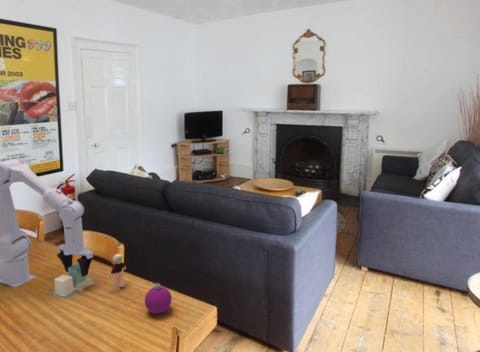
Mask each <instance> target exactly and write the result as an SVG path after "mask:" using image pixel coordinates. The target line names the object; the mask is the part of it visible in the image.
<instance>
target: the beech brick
mask: <svg viewBox="0 0 480 352" xmlns="http://www.w3.org/2000/svg"><path fill="white" fill-rule="evenodd" d="M90 278H91V277H88V278H86V279H85V280H83V281H81V282H79V283H74V282H73V287H74V288H77V289H80V290H81V289H83V288H84V287H86V286H88V285H89V284H91V283H92V280H91V279H92V278H91V279H90ZM91 285H92V284H91ZM88 287H89V286H88ZM86 288H87V287H86ZM83 290H84V289H83ZM81 291H82V290H81Z"/></svg>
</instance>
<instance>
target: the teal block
mask: <svg viewBox="0 0 480 352" xmlns="http://www.w3.org/2000/svg"><path fill="white" fill-rule="evenodd" d="M67 273H68V274H67V275H68V276H72V278H73V282H74V283H79V282H81V281H83V280H85V279H86V277H87V275H86V276H84V277H82V275H81V269H80V266H79V263H78V262H77V263H75V264H72V266H71V267H69V268H68V272H67Z"/></svg>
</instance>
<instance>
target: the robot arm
mask: <svg viewBox="0 0 480 352" xmlns="http://www.w3.org/2000/svg"><path fill="white" fill-rule="evenodd" d="M18 182H19V183H24V184H25V185H26V186H28V187H29V188H31V189H32V190H34V191H35V192H37V193H38V194H40V195H41V196H42V201H43V202H44V203H46V204H47V205H48V206H49V207H50V208H51V209H53V210H55V211H56V212H57V213H58V217H59V219H60V220H61V222H62V225H63V231H64V243H65V244H63V243H62V244H59V245H58V246H57V251H58V252H59V253H57V254H56V256H57V258H58V259H59V260H60V262H61V263H62V265H63V268H64V271H65V272H66V273H68V268H69V267H71V266H73V257H74V256H79V257H80V256H81V257H80V258H77V259H76V262H77V263H78V264H79V266H80V269H81V275H82V277H84V276H86V277H87V275H89V270H90V267H91V263H92V261H93V259H94V257H95V256H94V252H93V250H92V251H91V250H90V249H88V248H86V247H85V246H84V232H83V222H82V221H83V220H82V216H83V215H84V213H85V207H84V205H83V204H82V203H81V201H80V200H79V201H78V200H73V199H71V198H69V196H67V195H65V194H64V193H63V191H62V190H61V189H59V188H56V187H50V186H49V185H48V184H47V183H46V182H44V180H43V179H41V178H40V177H39V176H37V174H36V173H34V171H33V170H32V169H31V168H30V165H29V164H28V163H25V161H24V160H22V159H21V158H18V157H17V158H13V159H10V160H5V161H2V162H1V161H0V232H1V235H0V283H1V284H5V285H8V286H10V287H13V288H17V287H19V286H21V285H23V284H26V283H27V282H29V281H31V280H33V279H35V278H36V276H35V275H32V274H30V267H29V266H30V265H29V259H28V254H29V250H30V249H31V246H32V242H31V240H30V239H29V238H28V237H29V236H28V235H27V232H26V231H24V230H22V229H21V228H20V225H19V220H18V216H17V212H16V209H15V204H14V201H13V196H12V192H11V188H10V187H11V186H12V184H14V183H18Z"/></svg>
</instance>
